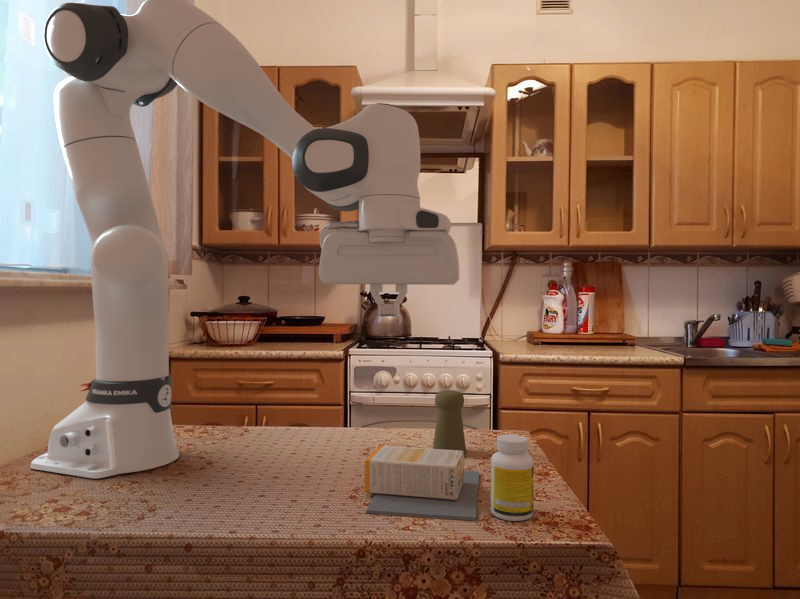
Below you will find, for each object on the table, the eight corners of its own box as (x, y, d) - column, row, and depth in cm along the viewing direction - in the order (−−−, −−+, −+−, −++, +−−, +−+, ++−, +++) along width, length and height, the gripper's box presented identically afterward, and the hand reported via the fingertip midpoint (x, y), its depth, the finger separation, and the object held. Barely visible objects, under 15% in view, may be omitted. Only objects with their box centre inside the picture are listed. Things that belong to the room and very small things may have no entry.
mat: (366, 513, 71) (366, 510, 71) (391, 469, 89) (391, 466, 89) (475, 520, 69) (475, 517, 69) (479, 474, 87) (479, 471, 87)
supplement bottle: (540, 521, 69) (540, 442, 69) (498, 524, 68) (499, 444, 68) (523, 504, 74) (524, 431, 74) (484, 507, 73) (485, 433, 73)
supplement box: (363, 494, 77) (457, 502, 74) (363, 459, 77) (457, 466, 74) (379, 475, 85) (465, 482, 82) (379, 444, 85) (465, 449, 82)
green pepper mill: (473, 453, 98) (473, 391, 97) (446, 459, 94) (447, 395, 94) (451, 445, 103) (451, 386, 102) (425, 451, 99) (425, 389, 99)
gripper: (313, 218, 78) (312, 316, 78) (458, 216, 75) (457, 318, 75) (326, 224, 85) (325, 314, 85) (460, 222, 81) (460, 316, 81)
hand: (388, 316), depth 80 cm, fingers closed
